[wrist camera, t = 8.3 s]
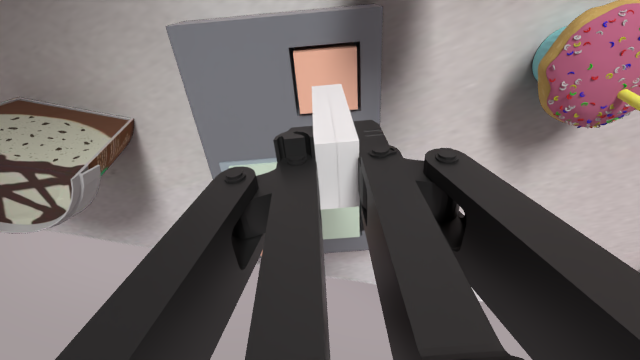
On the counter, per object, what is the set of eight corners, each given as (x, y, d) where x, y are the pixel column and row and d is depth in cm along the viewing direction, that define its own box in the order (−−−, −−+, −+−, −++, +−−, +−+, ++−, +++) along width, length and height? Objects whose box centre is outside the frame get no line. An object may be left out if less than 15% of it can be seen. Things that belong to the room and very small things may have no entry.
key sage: (311, 189, 30) (310, 204, 28) (355, 185, 30) (359, 200, 28) (314, 223, 33) (315, 240, 31) (356, 220, 33) (359, 236, 30)
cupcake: (585, 107, 28) (740, 176, 18) (493, 105, 28) (598, 174, 18) (639, -3, 24) (889, 5, 13) (530, -7, 23) (701, -1, 13)
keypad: (183, 21, 24) (162, 27, 20) (373, 3, 23) (384, 6, 20) (244, 236, 35) (236, 263, 32) (371, 227, 35) (377, 252, 32)
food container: (19, 156, 29) (-100, 225, 21) (-2, 93, 26) (-151, 144, 18) (155, 178, 31) (96, 251, 23) (151, 121, 28) (81, 181, 19)
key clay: (294, 46, 23) (293, 53, 21) (352, 41, 23) (356, 47, 21) (301, 103, 26) (300, 113, 24) (353, 99, 26) (357, 109, 24)
